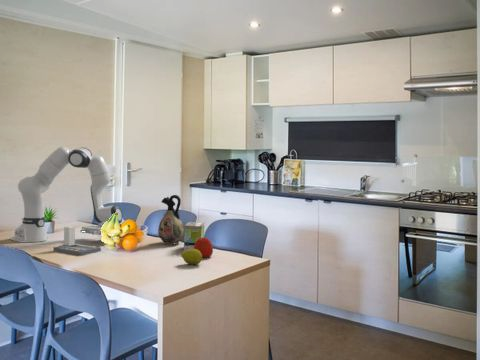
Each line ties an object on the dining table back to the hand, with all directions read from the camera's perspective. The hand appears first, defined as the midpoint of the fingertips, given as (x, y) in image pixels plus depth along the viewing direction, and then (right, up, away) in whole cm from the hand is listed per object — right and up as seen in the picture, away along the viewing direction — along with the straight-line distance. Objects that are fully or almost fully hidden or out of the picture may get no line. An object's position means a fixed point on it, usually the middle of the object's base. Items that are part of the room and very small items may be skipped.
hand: (87, 232), depth 263 cm
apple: (+69, -11, -21) cm, 73 cm away
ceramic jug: (+47, -9, +13) cm, 50 cm away
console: (-1, -9, -14) cm, 16 cm away
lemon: (+65, -12, -39) cm, 77 cm away
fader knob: (-6, -6, -11) cm, 14 cm away
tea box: (+62, -10, -2) cm, 63 cm away
